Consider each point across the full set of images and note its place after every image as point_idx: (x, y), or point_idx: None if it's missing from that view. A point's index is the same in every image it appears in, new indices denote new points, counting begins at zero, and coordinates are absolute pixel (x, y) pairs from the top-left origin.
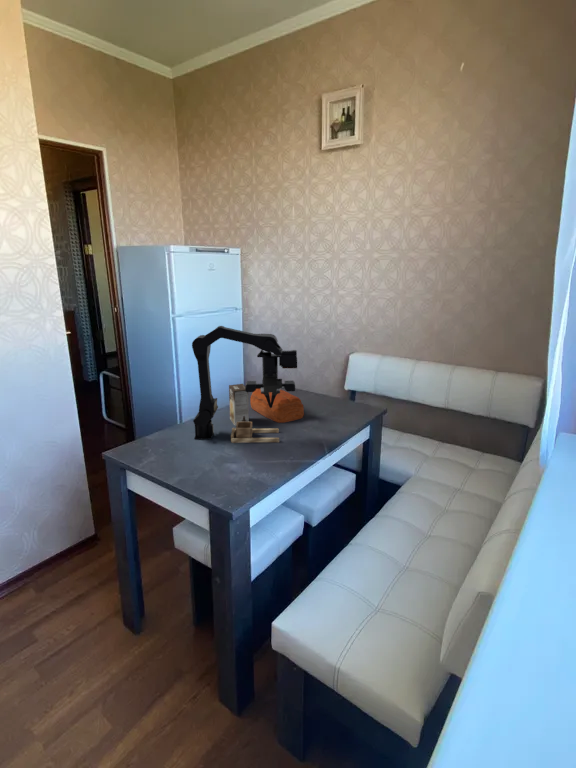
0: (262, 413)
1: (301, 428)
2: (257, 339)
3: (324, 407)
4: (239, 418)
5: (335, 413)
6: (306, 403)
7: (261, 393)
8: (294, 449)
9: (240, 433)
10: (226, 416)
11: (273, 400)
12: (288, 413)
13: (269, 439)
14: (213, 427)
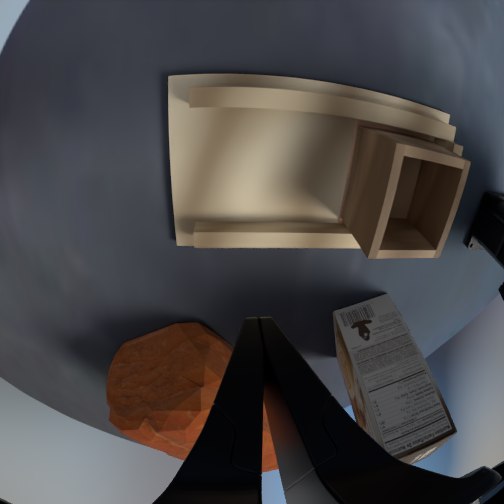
0: None
1: (96, 280)
2: None
3: (81, 397)
4: (384, 325)
5: (40, 366)
6: None
7: (489, 468)
8: (112, 26)
9: (433, 146)
10: None
11: (224, 402)
12: (155, 366)
13: (257, 87)
14: (486, 246)
